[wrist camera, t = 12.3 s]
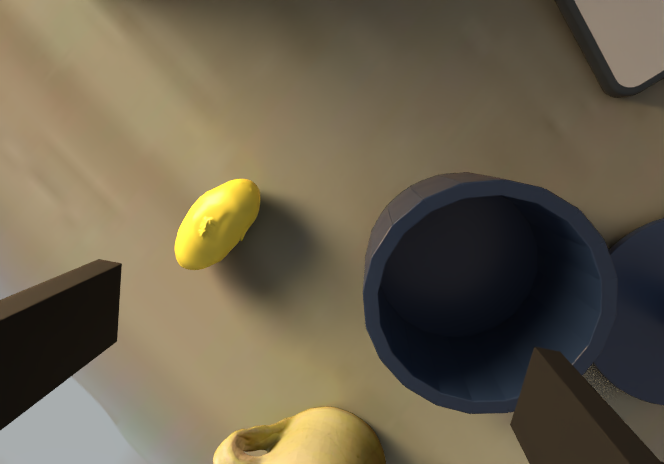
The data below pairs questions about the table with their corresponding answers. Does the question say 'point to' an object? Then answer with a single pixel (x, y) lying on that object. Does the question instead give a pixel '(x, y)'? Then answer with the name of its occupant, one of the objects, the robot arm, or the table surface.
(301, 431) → the mug
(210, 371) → the table surface
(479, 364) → the tin
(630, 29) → the phone case
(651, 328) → the lid
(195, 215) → the lemon
